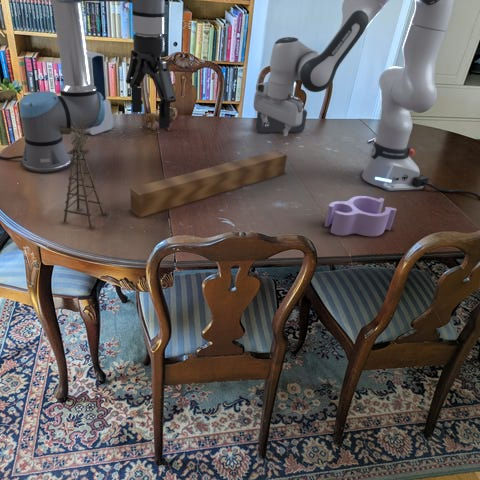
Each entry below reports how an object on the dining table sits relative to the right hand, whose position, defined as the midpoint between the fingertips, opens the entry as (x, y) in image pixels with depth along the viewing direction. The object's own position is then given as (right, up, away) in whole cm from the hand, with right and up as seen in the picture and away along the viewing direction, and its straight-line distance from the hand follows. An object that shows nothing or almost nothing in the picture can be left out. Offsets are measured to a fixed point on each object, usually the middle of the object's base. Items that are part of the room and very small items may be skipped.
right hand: (274, 131), depth 161 cm
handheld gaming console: (+6, +11, +48) cm, 49 cm away
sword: (+57, +9, +54) cm, 79 cm away
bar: (-20, -21, -6) cm, 30 cm away
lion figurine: (-46, +10, +37) cm, 60 cm away
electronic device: (-71, +7, +29) cm, 77 cm away
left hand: (-36, -5, -35) cm, 51 cm away
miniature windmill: (-56, -32, -28) cm, 70 cm away
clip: (+24, -33, -18) cm, 45 cm away
